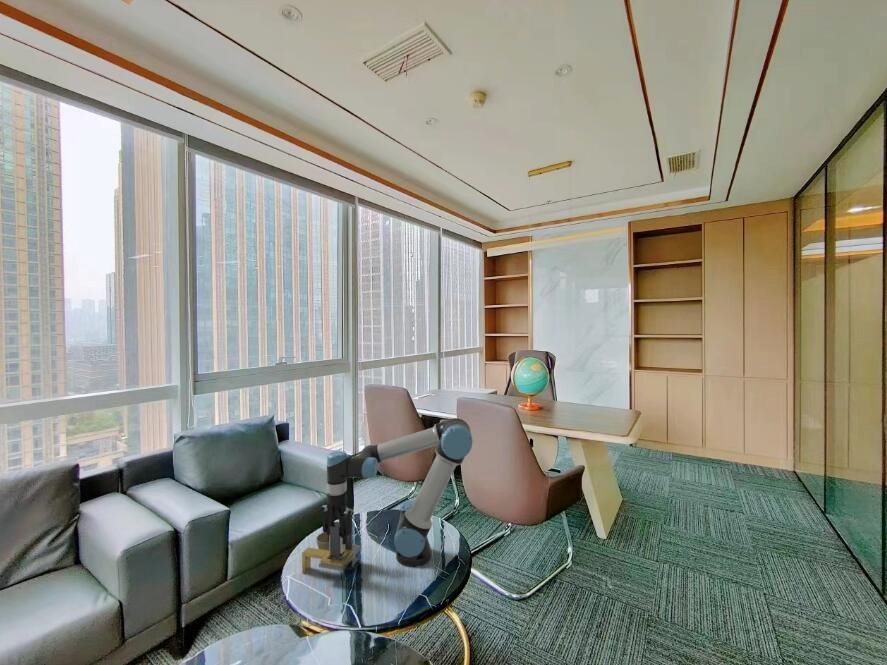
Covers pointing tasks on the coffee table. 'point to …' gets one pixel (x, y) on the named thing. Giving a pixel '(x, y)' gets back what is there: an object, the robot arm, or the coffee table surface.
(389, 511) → the coffee table surface
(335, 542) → the dark grey block
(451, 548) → the coffee table surface
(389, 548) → the coffee table surface
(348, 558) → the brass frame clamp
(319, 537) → the flower pot
